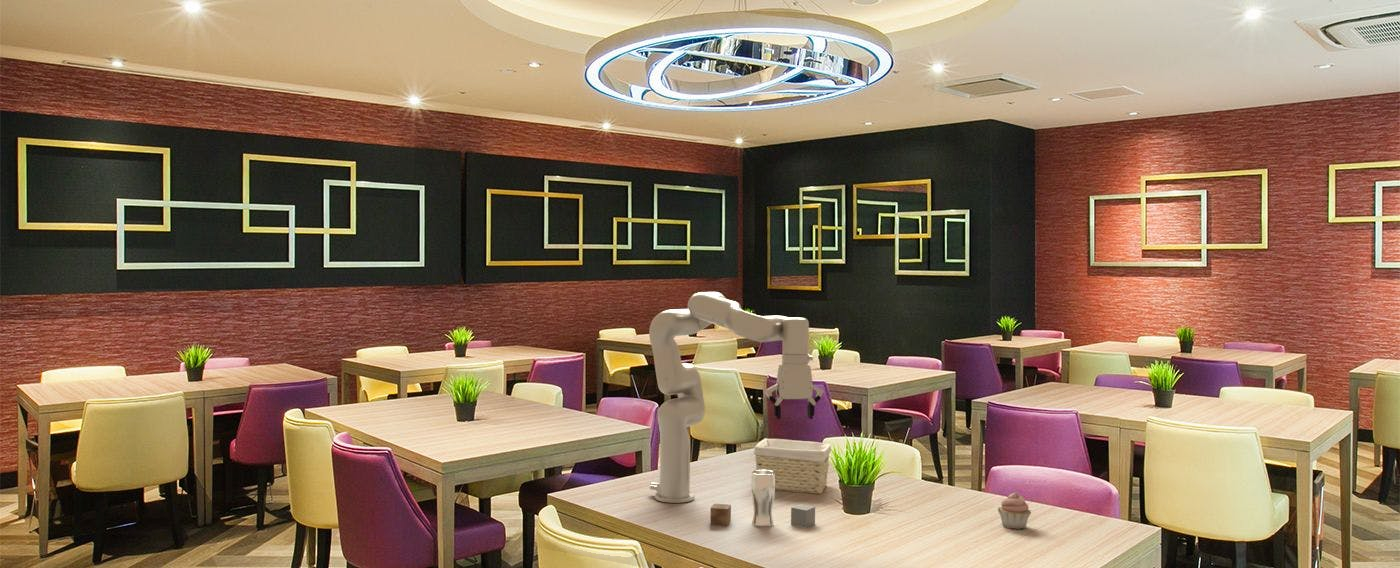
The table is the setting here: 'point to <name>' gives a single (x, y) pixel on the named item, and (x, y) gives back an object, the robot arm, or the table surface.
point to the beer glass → (763, 497)
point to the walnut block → (720, 514)
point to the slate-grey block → (802, 515)
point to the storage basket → (794, 463)
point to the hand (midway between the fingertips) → (794, 418)
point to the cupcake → (1014, 512)
